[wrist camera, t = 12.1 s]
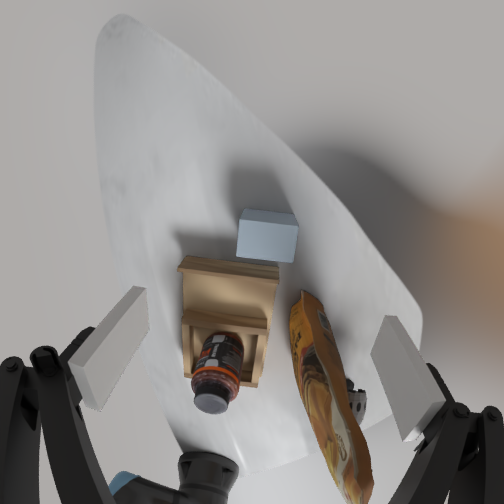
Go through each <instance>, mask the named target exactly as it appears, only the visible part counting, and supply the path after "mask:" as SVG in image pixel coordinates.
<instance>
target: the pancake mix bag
mask: <svg viewBox="0 0 504 504" xmlns="http://www.w3.org/2000/svg"><path fill="white" fill-rule="evenodd" d="M289 327H290V341H291V351H292V361H293V368H294V374H295V378H296V382H297V386H298V389H299V393H300V396H301V399H302V401H303V404H304V407H305V409H306V412H307V414H308V417H309V420H310V423H311V426H312V428H313V431H314V433H315V435H316V438H317V441H318V444H319V447H320V449H321V451H322V453H323V455H324V457H325V459H326V462H327V465H328V468H329V471H330V473H331V475H332V477H333V479H334V481H335V483H336V485H337V487H338V489H339V491H340V493H341V494H342V496H343V498H344V499H345V501H346V503H347V504H368V502H369V499H370V497H371V495H372V490H373V486H374V480H373V476H372V472H371V458H370V454H369V450H368V446H367V442H366V440H365V437H364V436H363V433H362V431H361V429H360V427H359V425H358V423H357V421H356V419H355V417H354V415H353V412H352V410H351V408H350V405H349V398H348V393H347V385H346V378H345V373H344V369H343V365H342V362H341V358H340V355H339V352H338V349H337V346H336V343H335V340H334V337H333V333H332V330H331V326H330V324H329V321H328V319H327V317H326V314H325V312H324V308H323V305H322V304H321V303H320V301H319V300H318V299H317V298H315V297H314V296H312V295H311V294H309V293H307V292H305V291H303V290H301V300H299V301H298V302H297V303H296V304H294V305H293V306H292V309H291V315H290V320H289Z"/></svg>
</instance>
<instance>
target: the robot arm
mask: <svg viewBox="0 0 504 504" xmlns="http://www.w3.org/2000/svg"><path fill="white" fill-rule="evenodd" d="M149 329H150V328H149V318H148V307H147V295H146V288H143V287H137V286H133V287H132V288H131V289H130V290H129V291H128V292H127V294H126V295H125V296H124V297H123V298H122V299H121V300H120V301H119V302H118V303H117V305H116V306H115V307H114V308H113V309H112V310H111V311H110V313H109V314H108V315H107V316H106V317H105V318H104V319H103V321H102V322H101V323H100V324H99V325H98V326H97V327H96V328H94V327H88V328H86V329H84V330H82V331H81V332H80V333H79V334H78V335H77V337H76V339H74V340H73V341H72V342H71V344H70V345H69V346H68V347H67V348H66V349H65V350H64V351H63V352H62V354H61V355H60V356H58V353H57V351H56V349H55V348H53V347H51V346H41V347H38V348H36V349H35V350H33V351H32V353H31V354H30V360H31V363H32V365H33V367H26V366H25V365H24V363H23V361H22V359H20V358H19V357H15V356H13V357H9V358H6V359H5V360H4V361H3V362H2V364H1V365H0V504H40V501H39V447H40V446H39V445H40V433H41V423H42V429H43V435H44V440H45V445H46V450H47V454H48V459H49V462H50V466H51V470H52V474H53V477H54V481H55V485H56V488H57V491H58V494H59V497H60V500H61V503H62V504H227V500H228V493H229V492H230V490H231V488H232V486H233V484H234V483H235V481H236V479H237V477H238V472H239V467H238V466H237V464H236V463H234V462H233V461H231V460H229V459H227V458H225V457H222V456H219V455H215V454H210V453H204V452H189V453H185V454H183V455H181V456H180V458H179V462H178V471H179V479H180V487H179V490H175V489H172V488H169V487H166V486H163V485H160V484H158V483H155V482H152V481H150V480H147V479H145V478H142V477H141V476H139V475H135V474H132V473H129V472H127V471H121V472H119V473H118V474H117V475H116V476H115V477H114V478H113V480H112V481H111V483H110V484H109V486H108V485H107V483H106V480H105V478H104V476H103V474H102V471H101V468H100V466H99V464H98V461H97V458H96V456H95V453H94V450H93V447H92V444H91V441H90V439H89V435H88V432H87V429H86V426H85V422H84V419H83V415H82V412H81V408H80V406H79V403H80V401H81V399H83V401H84V403H85V405H86V406H87V407H89V408H91V409H94V410H97V411H99V412H101V410H102V408H103V406H104V405H105V403H106V401H107V399H108V397H109V396H110V394H111V392H112V391H113V389H114V387H115V385H116V383H117V382H118V380H119V378H120V377H121V375H122V373H123V372H124V370H125V369H126V367H127V365H128V364H129V362H130V360H131V358H132V356H133V355H134V354H135V352H136V350H137V349H138V347H139V345H140V344H141V342H142V341H143V339H144V337H145V336H146V334H147V333H148V331H149ZM370 354H371V357H372V359H373V362H374V364H375V367H376V369H377V372H378V374H379V377H380V379H381V382H382V385H383V387H384V390H385V393H386V395H387V398H388V401H389V404H390V406H391V409H392V412H393V415H394V418H395V421H396V423H397V426H398V429H399V432H400V435H401V438H402V441H403V442H406V441H411V440H416V439H417V438H418V437H419V436H420V435H421V433H422V432H423V434H424V436H425V438H424V439H423V440H422V441H421V443H420V444H419V445H418V446H417V447H416V448H415V450H414V451H416V450H417V449H418V450H417V452H416V454H415V457H414V459H413V461H412V463H411V465H410V466H409V468H408V470H407V472H406V474H405V476H404V478H403V480H402V482H401V483H400V485H399V487H398V488H397V490H396V492H395V494H394V495H393V497H392V498H391V500H390V502H389V503H388V504H444V502H445V499H446V497H447V495H448V492H449V490H450V492H449V498H448V504H504V424H503V417H502V414H501V412H500V411H499V410H498V409H497V408H496V407H494V406H487V407H485V408H484V410H483V411H482V412H481V413H473V412H470V410H469V408H468V407H467V406H466V405H464V404H462V403H458V402H455V401H454V399H453V397H452V395H451V393H450V391H449V390H448V388H447V386H446V384H445V383H444V381H443V379H442V378H441V376H440V374H439V372H438V371H437V369H436V368H435V367H434V366H433V365H431V364H430V363H425V361H424V360H423V358H422V356H421V355H420V353H419V351H418V349H417V348H416V346H415V345H414V343H413V341H412V340H411V338H410V336H409V335H408V333H407V332H406V330H405V328H404V327H403V325H402V324H401V322H400V321H399V319H398V317H397V316H387V315H385V317H384V320H383V323H382V325H381V328H380V331H379V333H378V336H377V338H376V341H375V344H374V346H373V348H372V351H371V353H370ZM478 448H479V451H478Z"/></svg>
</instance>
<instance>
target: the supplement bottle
mask: <svg viewBox="0 0 504 504" xmlns="http://www.w3.org/2000/svg"><path fill="white" fill-rule="evenodd" d="M243 359H244V345H243V343H242V342H241V340H240V339H239V338H237V337H236V336H235V335H232V334H230V333H225V332H218V333H214V334H212V335H210V336H209V337H208V338H207V339H206V340H205V342H204V344H203V347H202V350H201V353H200V356H199V359H198V362H197V365H196V368H195V371H194V374H193V377H192V380H191V387H192V390H193V392H194V393H195V398H194V404H195V405H196V407H197V408H198V409H199V410H201V411H203V412H205V413H209V414H221V413H223V412H225V411H226V410H227V408H228V404H229V402H231V401H232V400H234V399H235V398H236V396H237V394H238V392H239V386H240V380H241V373H242V366H243Z"/></svg>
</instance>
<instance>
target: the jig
mask: <svg viewBox="0 0 504 504" xmlns="http://www.w3.org/2000/svg"><path fill="white" fill-rule="evenodd" d="M177 271H178V272H183V316H182V341H183V363H184V377H187V378H192V377H193V374H194V371H195V368H196V365H197V362H198V359H199V356H200V353H201V350H202V347H203V344H204V342H205V340H206V339H207V338H208V337H209V336H210V335H212V334H214V333H218V332H225V333H230V334H232V335H235V336H236V337H237V338H239V339H240V340H241V342H242V343H243V345H244V359H243V366H242V373H241V380H240V386H246V387H255V388H257V387H258V381H259V377H261V376H262V370H263V365H264V359H265V353H266V348H267V342H268V336H269V330H270V324H271V318H272V312H273V305H274V299H275V293H276V286H277V284H279V268H278V267H274V266H266V265H257V264H249V263H240V262H232V261H224V260H216V259H208V258H200V257H192V256H186V257H185V258H184V260H183V261H182V262H181V263H180V265H179V266H178V267H177Z"/></svg>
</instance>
